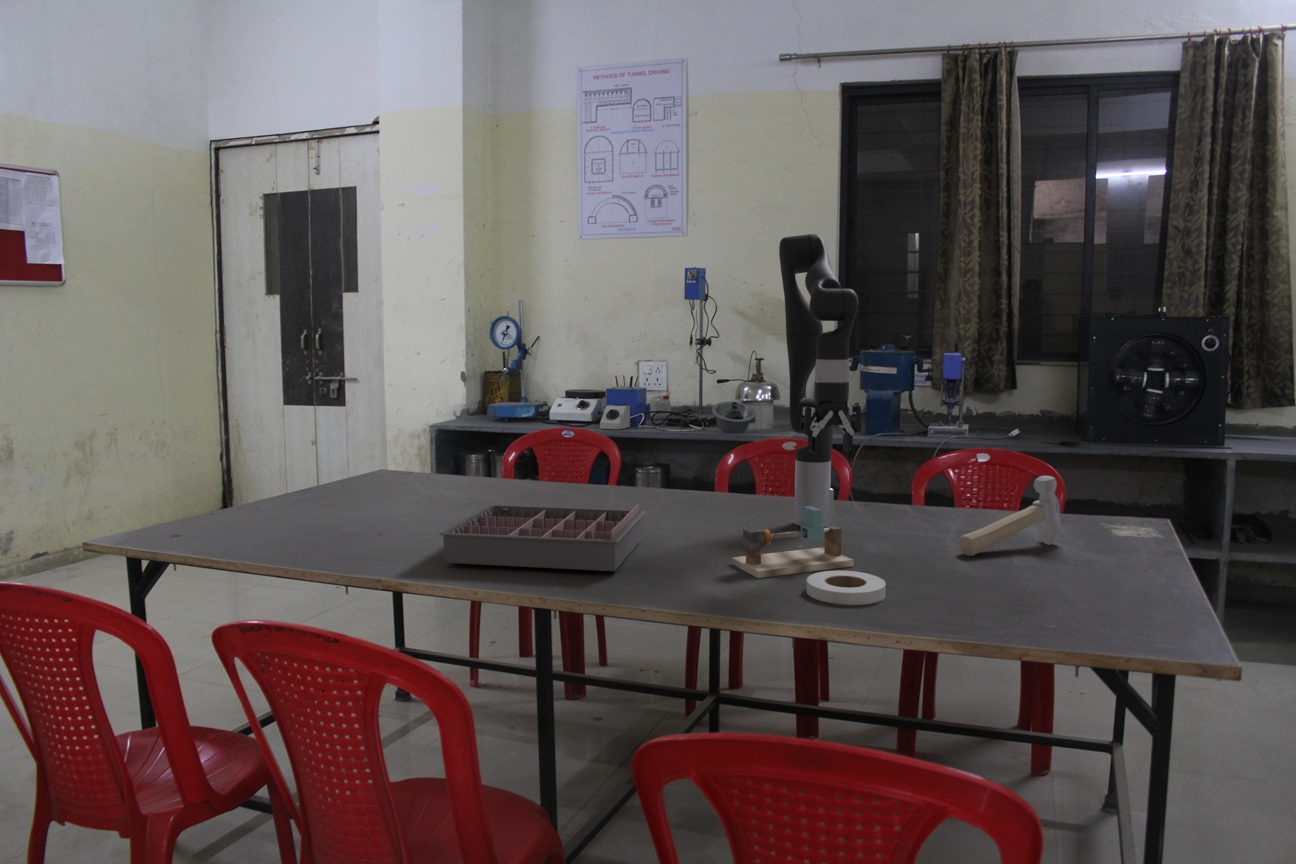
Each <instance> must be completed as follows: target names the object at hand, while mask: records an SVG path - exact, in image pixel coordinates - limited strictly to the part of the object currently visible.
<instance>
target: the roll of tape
mask: <svg viewBox="0 0 1296 864" xmlns="http://www.w3.org/2000/svg"><path fill="white" fill-rule="evenodd" d="M805 588H806V591H805V592H806V594H807V595H808V596H809V597H811V598H812V599H814V600H817V601H820V602H825V603H829V604H837V605H845V606H847V605H848V606H857V605H861V606H862V605H871V604H876V603H879V602H881V601H884V599H885V598H886V588H887V587H886V581H885V579H884V578H881V577H879V576H877V575H873V574H871V573H866V572H861V571H853V570H823V571H820V572H816V573H813V574H809V576H808V577H807V578H806V587H805Z"/></svg>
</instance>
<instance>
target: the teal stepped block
mask: <svg viewBox="0 0 1296 864" xmlns="http://www.w3.org/2000/svg"><path fill="white" fill-rule="evenodd" d="M824 528H825V527H824V526H823V525H822V510H821V509H818V508H815V507H812V506H808V507H804V508H803V524H801V526H800V531H803V530H807V536H800V539H801V540H803V541H805V542H817V541H825V534H824Z"/></svg>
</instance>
